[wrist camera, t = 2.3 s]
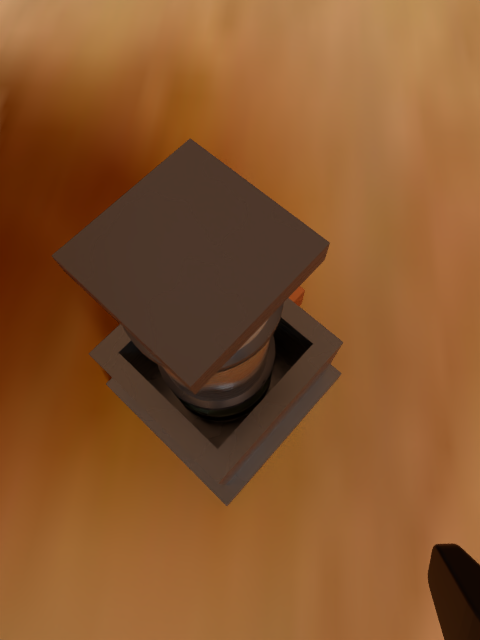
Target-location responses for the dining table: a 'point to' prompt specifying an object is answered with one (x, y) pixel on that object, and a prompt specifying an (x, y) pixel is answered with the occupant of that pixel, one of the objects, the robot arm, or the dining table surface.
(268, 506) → the dining table surface
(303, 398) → the stand
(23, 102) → the dining table surface
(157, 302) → the column
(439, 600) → the robot arm
